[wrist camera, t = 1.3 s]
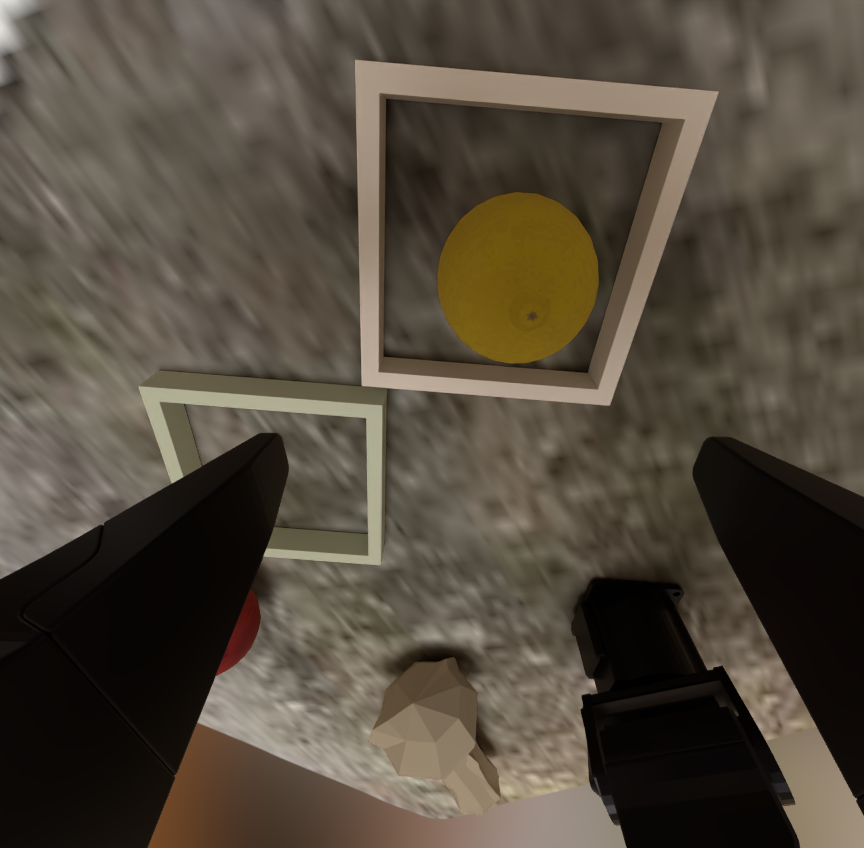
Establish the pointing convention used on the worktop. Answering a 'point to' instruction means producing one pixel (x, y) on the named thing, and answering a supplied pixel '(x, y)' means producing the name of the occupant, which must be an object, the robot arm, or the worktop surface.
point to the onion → (242, 633)
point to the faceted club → (437, 733)
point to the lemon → (518, 277)
